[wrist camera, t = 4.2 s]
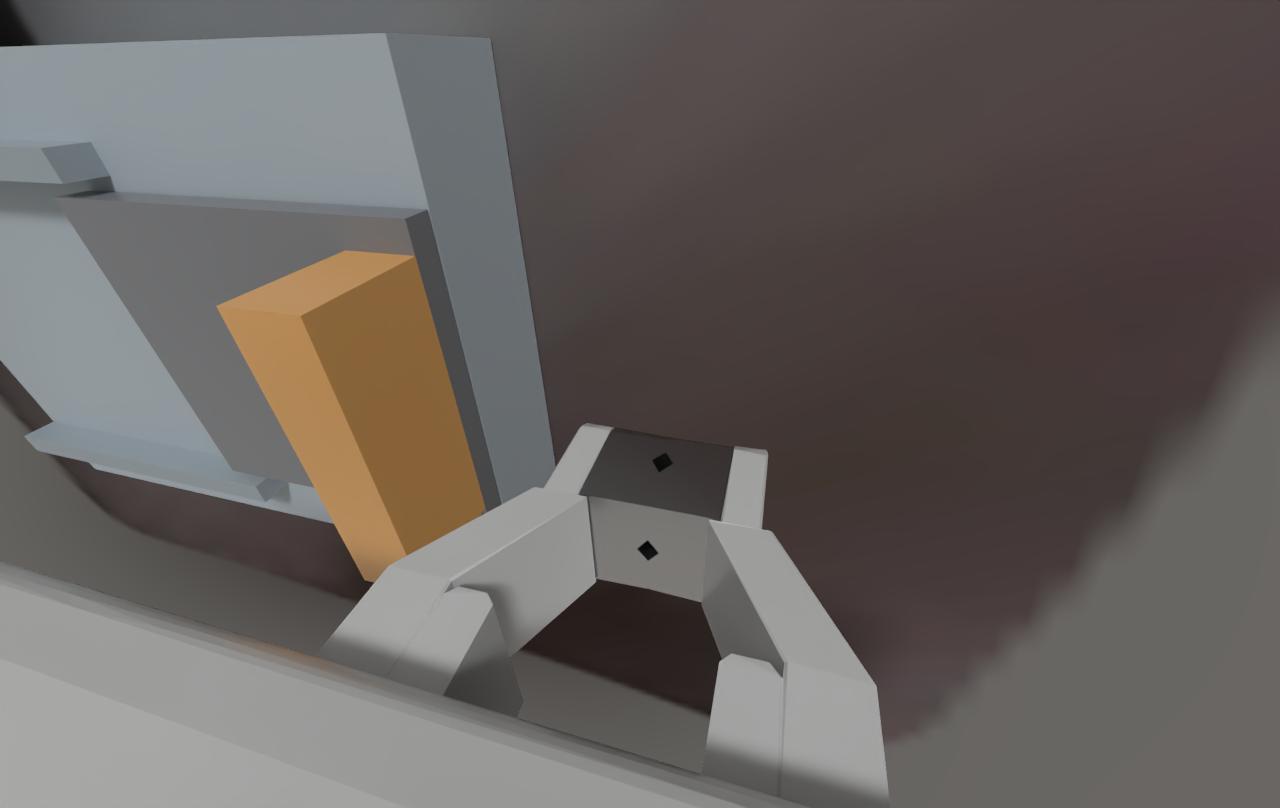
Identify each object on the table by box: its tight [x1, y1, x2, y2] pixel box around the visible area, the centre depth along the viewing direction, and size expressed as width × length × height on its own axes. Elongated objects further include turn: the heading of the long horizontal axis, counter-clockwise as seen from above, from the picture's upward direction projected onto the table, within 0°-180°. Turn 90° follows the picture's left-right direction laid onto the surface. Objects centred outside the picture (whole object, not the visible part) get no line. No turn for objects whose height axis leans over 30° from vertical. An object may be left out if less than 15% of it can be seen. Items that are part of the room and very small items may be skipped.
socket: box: [0, 33, 556, 524], centre depth 13 cm, size 12×16×4 cm
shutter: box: [54, 191, 501, 583], centre depth 10 cm, size 7×8×3 cm
